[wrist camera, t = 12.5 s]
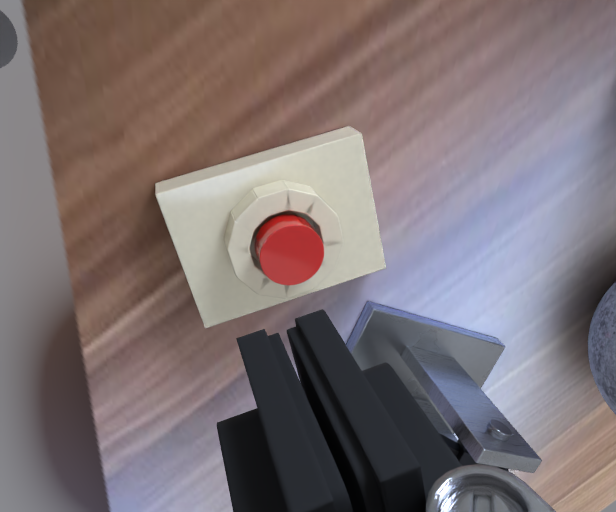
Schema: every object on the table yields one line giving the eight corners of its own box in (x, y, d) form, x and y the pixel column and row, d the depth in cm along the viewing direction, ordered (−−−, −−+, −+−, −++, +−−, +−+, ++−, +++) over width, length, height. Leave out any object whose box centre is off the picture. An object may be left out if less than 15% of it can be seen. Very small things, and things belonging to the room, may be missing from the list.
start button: (263, 280, 32) (269, 294, 31) (246, 225, 31) (252, 236, 29) (322, 261, 33) (330, 273, 31) (308, 205, 31) (316, 216, 30)
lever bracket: (316, 403, 42) (371, 536, 31) (367, 300, 39) (446, 408, 29) (444, 428, 46) (530, 553, 36) (497, 338, 44) (606, 443, 33)
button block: (202, 311, 36) (207, 344, 33) (154, 183, 32) (155, 205, 29) (374, 254, 38) (397, 280, 34) (349, 125, 34) (373, 139, 30)
